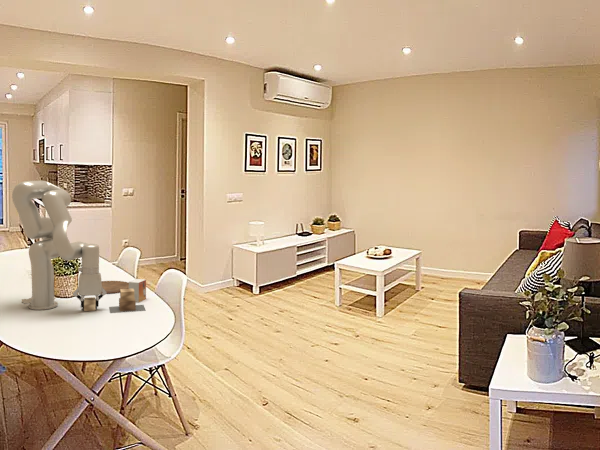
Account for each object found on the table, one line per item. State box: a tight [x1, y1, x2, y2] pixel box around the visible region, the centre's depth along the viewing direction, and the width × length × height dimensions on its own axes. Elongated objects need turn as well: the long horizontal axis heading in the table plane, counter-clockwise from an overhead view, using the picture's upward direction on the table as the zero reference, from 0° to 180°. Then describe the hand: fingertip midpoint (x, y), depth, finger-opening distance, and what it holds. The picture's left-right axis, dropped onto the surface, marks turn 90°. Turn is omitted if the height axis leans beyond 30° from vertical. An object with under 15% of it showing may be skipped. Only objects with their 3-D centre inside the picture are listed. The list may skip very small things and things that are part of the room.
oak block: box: [119, 289, 134, 302], centre depth 251 cm, size 6×6×4 cm
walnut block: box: [118, 297, 137, 311], centre depth 252 cm, size 7×7×4 cm
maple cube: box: [83, 296, 97, 312], centre depth 248 cm, size 5×5×5 cm
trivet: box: [101, 280, 129, 295], centre depth 291 cm, size 25×25×2 cm
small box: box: [128, 278, 147, 303], centre depth 267 cm, size 8×6×10 cm
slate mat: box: [108, 304, 146, 314], centre depth 252 cm, size 16×11×1 cm
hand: (89, 308), depth 248 cm, fingers closed on maple cube, 5 cm apart
